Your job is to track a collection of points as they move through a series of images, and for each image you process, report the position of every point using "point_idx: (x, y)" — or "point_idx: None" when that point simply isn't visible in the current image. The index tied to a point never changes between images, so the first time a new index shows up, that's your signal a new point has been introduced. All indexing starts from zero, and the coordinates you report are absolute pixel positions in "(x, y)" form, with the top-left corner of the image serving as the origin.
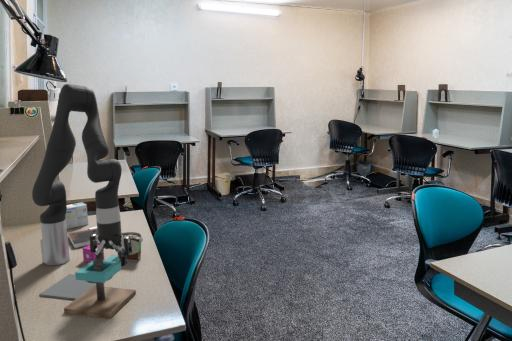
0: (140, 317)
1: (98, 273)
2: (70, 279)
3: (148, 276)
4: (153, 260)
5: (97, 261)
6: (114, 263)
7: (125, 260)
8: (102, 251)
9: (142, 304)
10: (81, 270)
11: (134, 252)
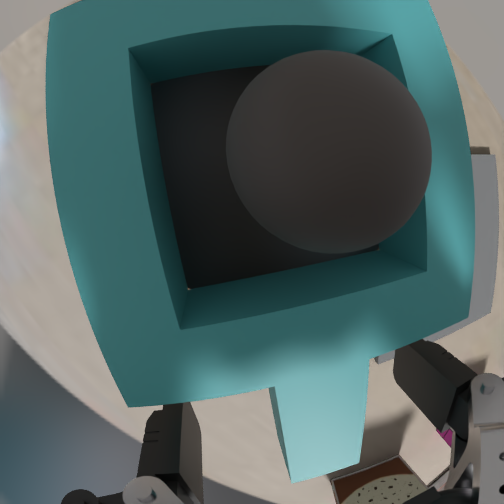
0: (4, 160)
1: (140, 1)
2: (477, 286)
3: (219, 444)
4: (286, 498)
5: (305, 64)
6: (167, 359)
7: (145, 452)
8: (451, 443)
9: (52, 250)
10: (414, 28)
11: (354, 496)
